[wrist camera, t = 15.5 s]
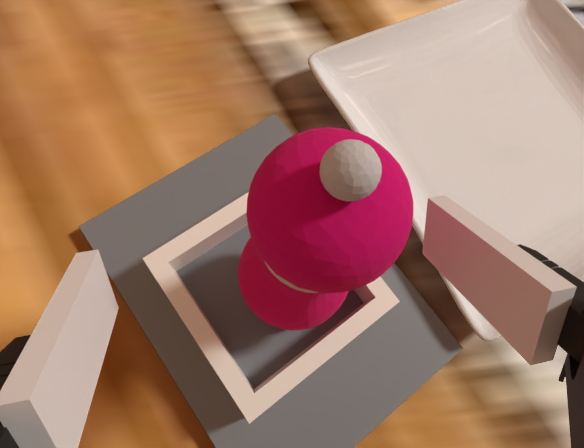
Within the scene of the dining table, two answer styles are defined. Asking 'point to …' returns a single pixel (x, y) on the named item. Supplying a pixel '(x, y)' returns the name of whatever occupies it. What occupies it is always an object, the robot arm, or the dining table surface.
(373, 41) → the square plate
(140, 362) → the dining table surface
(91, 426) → the dining table surface
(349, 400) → the caddy
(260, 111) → the dining table surface
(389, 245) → the pepper mill
